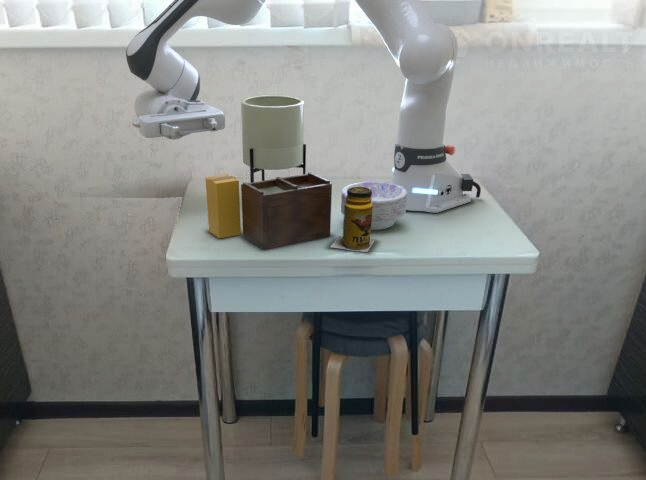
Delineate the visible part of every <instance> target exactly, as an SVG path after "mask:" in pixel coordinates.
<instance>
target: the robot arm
mask: <svg viewBox="0 0 646 480" xmlns="http://www.w3.org/2000/svg"><path fill="white" fill-rule="evenodd" d="M267 2H268V0H173V1H171V3H170V4H169V5H168V6H167V7H166V8H165V9H164V10H163V11H161V12H160V14H159V15H158V16H157V17H156V18H154V20H153V21H152V22H151V23H150V24H148V25H147V26H146V27H144V28H143V29H142V30H140V31H139V32H138V33H137V34H136V35H135V36H134V37H133V38H132V39H131V40H130V42H129V43H128V45H127V46H126V47H127V48H126V50H125V58H126V62H127V66H128V68H129V71H130V73H131V74H132V75H134V76H136V77H137V78H139V79H140V80H142V81H144V82H145V83H147V84H148V85H150V86H151V88H149V89H146V90H143V91H140V92H139V93H138V94H137V95H136V97H135V100H134V112H135V115H136V118H137V120H136V121H132V127H134V128H138V129H139V133H140V134H141V136H143V137H144V138H147V139H155V138H162V137H164V138H167V139H168V140H172V141H173V140H179V139H182V138H183V137H186V136H189V135H192V134H195V133H204V132H212V133H213V132H218V131H222V130H224V129H225V127H226V115H225V113H224V111H222V110H220V109H219V108H216V107H214V106H212V105H208V104H207V103H206V102H205V101H204V100H198V98H199V97H198V96H200V95H199V94H200V90H201V77H200V73H199V70H198V69H197V68H195V67H194V66H193V65H192V64H191V63H190V62H189V61H188V60H187V59H186V58H185V57H184V56H183V57H182V55H180V54H179V53H178V52H176V51H175V50H174V49H173V48H172V47H171V46H170V45H169V44H167V42H169V40H170V39H171V38H173V36H174V35H175V34H176V33H177V32H178V31H179V30H180V29H181V28H182V27H183V26H184V25H186V24H187V22H188V21H190V20H191V19H193V18H195V17H205V18H210V19H212V20H216V21H217V22H221V23H224V24H226V25H231V26H242V25H245V24H248V23H250V22H251V21H252V20H253V19H254V18H255V17H256V16H257V15H258V14H259V12H260V11H261V10H262V9H263V8H264V6H265V5H266V4H267ZM353 2H354V3H355V4H356V5H357V7H358V8H359V9H360V10H361V12H362V14H364V17H366V18H367V20H368V22H370V23H371V24H372V26H373V27H374V28H375V30H376V31H377V33H378V34H379V36H380V37H381V39H382V41H383V43H384V44H385V46H386V48H387V50H388V52H389V53H390V54H391V57H392V58H393V60H394V61H395V62H396V64H397V66H398V68H400V72H401V74H402V75H403V77H404V78H405V85H404V90H403V95H402V100H401V103H400V107H399V119H398V128H397V140H396V142H395V144H394V153H393V159H394V160H393V163H394V167H392V177H391V181H390V183H392V184H396V185H399V186H401V187H403V188H405V189H406V191H407V203H406V211H413V212H427V213H435V214H436V213H441V212H444V211H447V210H450V209H453V208H455V207H459V206H463V205H465V204H468V203H470V202H471V201H472V197H471V195H470V194H468V193H466V192H472V191H473V187H475V189H476V194H475V197H476V198H478V199H479V198H480V197H481V192H482V188H481V186H480V184H479V183H477V182H476V181H474V178H473V177H472V175H471V174H470V173H461V172H459V171H458V170H457V169H456V168H455V167H454V166H453V165H452V164H451V163H450V162H449V161H448V160H447V155H449V156H453V155H454V154H455V153H456V147H455V146H454V145H450V144H447V145H445V144H444V136H445V127H446V120H447V111H448V106H449V102H450V98H451V97H450V96H451V91H452V86H453V80H454V75H455V68H456V62H457V56H458V51H459V50H458V49H459V48H458V47H459V46H458V40H457V37H456V34H455V33H454V31H453V30H452V29H451V28H450V27H449V26H448V25H446V24H444V23H440V22H434V20H433V19H432V17H431V15H430V13H429V12H428V10H427V9H426V7H425V5H424V4H423V2H422V0H353ZM471 203H472V202H471Z"/></svg>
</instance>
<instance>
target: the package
mask: <svg viewBox="0 0 646 480" xmlns="http://www.w3.org/2000/svg"><path fill="white" fill-rule="evenodd" d="M204 178H205V179H204V180H205V192H206V207H207V208H206V209H207V223H208V232H209V233H210V234H212V235H213V236H215V237H217V238H218V239H225V238H230V237H235V236H240V235H242V227H241V225H242V224H241V202H240V180H239V179H237V178H236V177H235V176H233V175H230V174H220V175H213V176H206V177H204Z"/></svg>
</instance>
